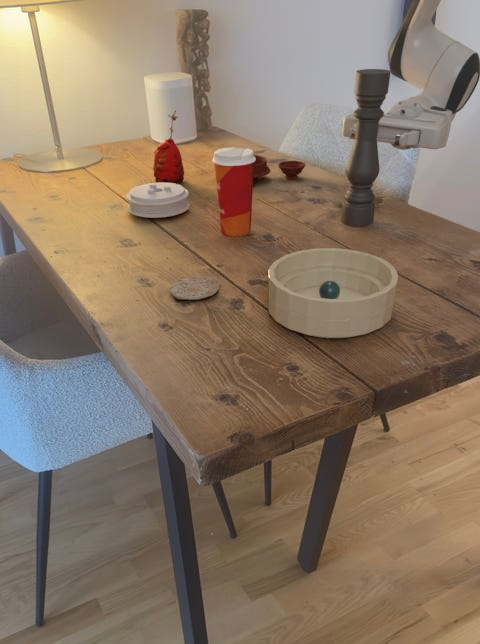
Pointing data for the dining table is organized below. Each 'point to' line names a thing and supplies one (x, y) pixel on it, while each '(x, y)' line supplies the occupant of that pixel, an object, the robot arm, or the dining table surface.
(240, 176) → the paper cup
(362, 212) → the candle holder
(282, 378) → the dining table surface
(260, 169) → the pottery
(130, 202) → the lid
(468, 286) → the dining table surface
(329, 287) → the bead
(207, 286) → the flatbread
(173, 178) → the red vase with sprig
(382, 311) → the bowl
